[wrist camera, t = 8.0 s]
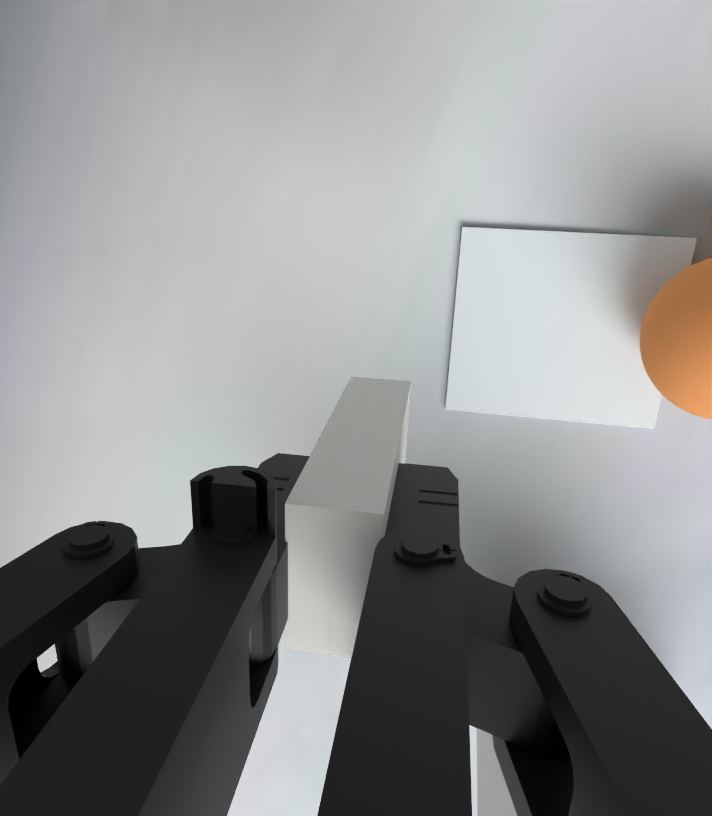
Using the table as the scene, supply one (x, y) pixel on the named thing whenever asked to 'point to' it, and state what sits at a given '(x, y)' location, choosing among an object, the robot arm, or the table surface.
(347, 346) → the table surface
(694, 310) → the ball
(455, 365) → the white square tile
